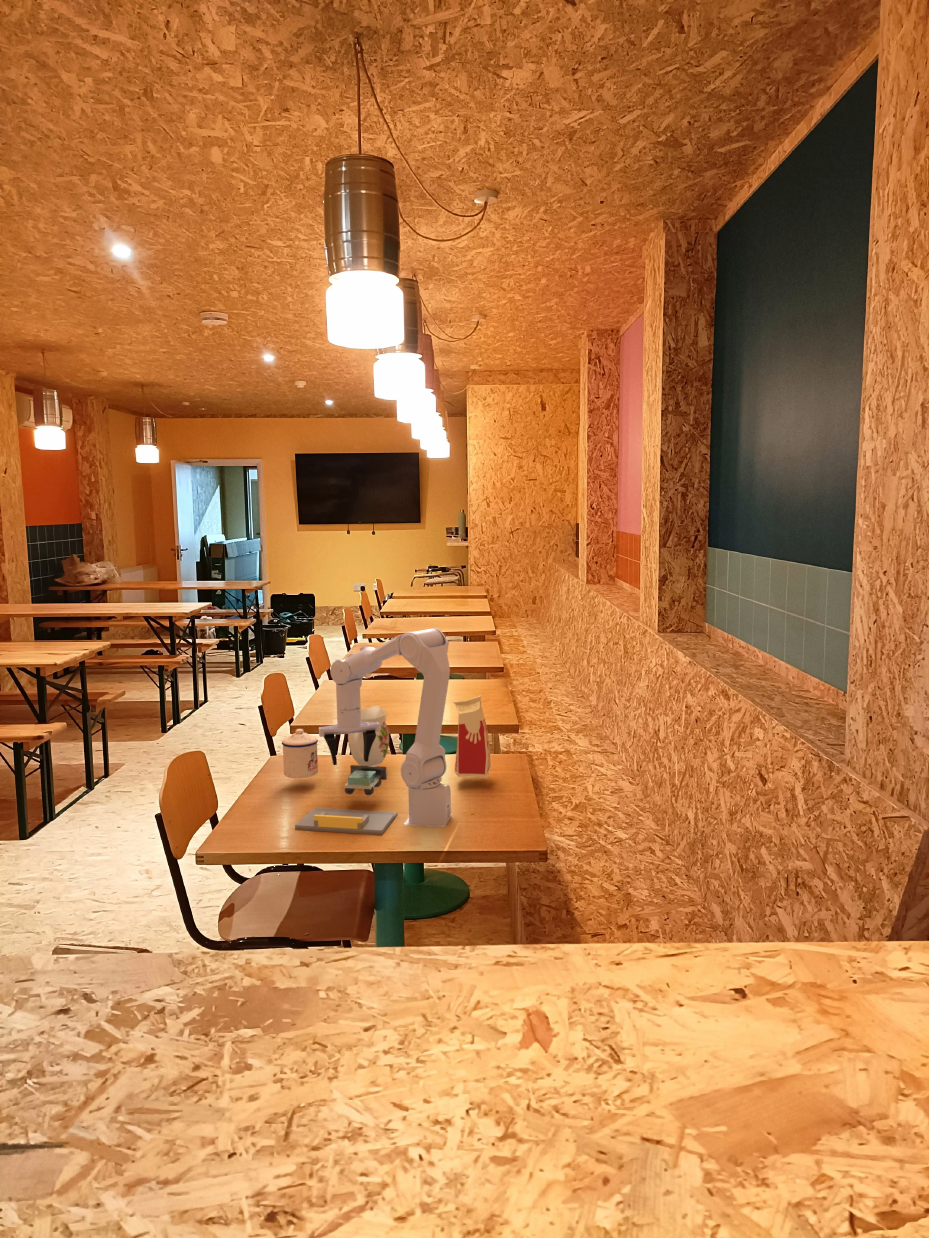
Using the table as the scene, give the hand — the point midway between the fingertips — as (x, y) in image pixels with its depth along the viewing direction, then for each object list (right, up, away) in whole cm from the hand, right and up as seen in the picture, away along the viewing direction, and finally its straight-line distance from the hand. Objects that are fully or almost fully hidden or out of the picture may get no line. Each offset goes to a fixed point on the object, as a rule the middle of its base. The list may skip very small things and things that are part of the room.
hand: (350, 762), depth 195 cm
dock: (+1, -11, -13) cm, 17 cm away
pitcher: (+2, -4, +19) cm, 20 cm away
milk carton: (+30, -5, +11) cm, 32 cm away
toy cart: (+3, -6, -3) cm, 8 cm away
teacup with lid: (-14, -5, +13) cm, 20 cm away
